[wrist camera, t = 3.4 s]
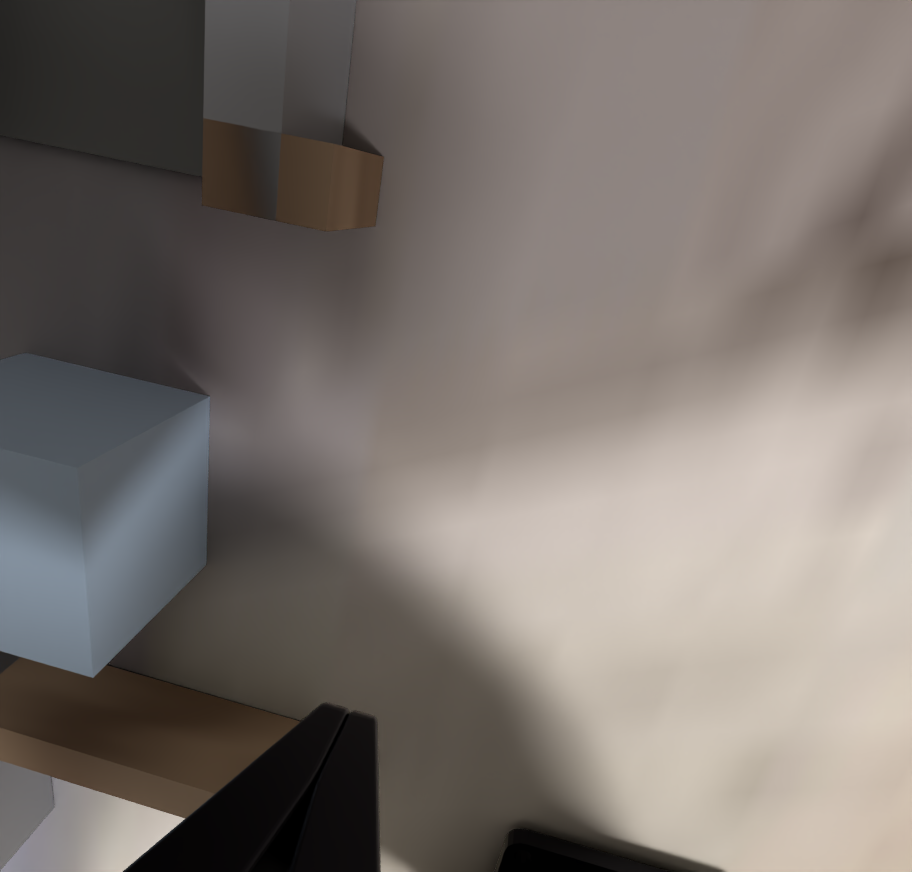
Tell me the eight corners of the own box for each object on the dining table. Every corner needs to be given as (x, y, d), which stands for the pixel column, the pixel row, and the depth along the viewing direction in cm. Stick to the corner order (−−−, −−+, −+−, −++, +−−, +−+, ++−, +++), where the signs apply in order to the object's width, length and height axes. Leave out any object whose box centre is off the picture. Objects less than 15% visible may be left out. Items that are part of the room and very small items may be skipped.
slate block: (212, 395, 13) (77, 467, 10) (208, 562, 15) (93, 678, 11) (29, 351, 14) (-167, 405, 10) (46, 518, 15) (-116, 617, 12)
